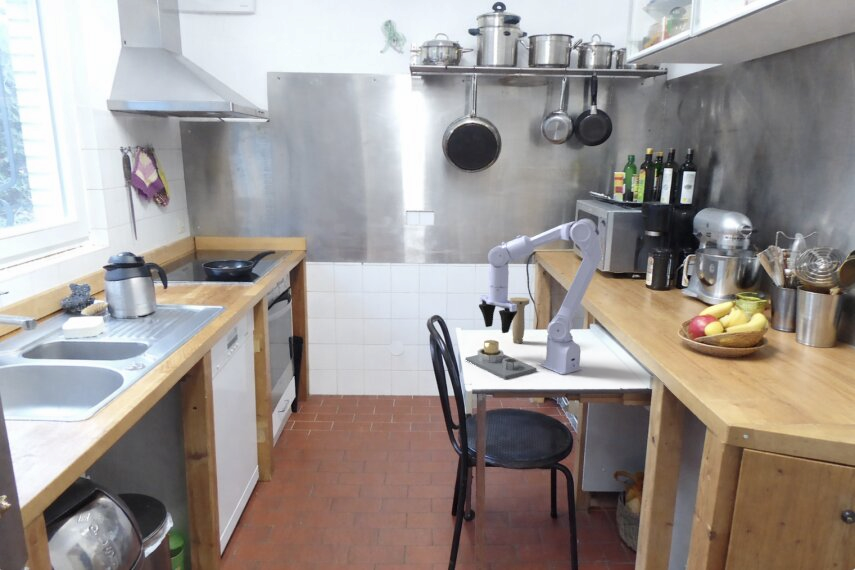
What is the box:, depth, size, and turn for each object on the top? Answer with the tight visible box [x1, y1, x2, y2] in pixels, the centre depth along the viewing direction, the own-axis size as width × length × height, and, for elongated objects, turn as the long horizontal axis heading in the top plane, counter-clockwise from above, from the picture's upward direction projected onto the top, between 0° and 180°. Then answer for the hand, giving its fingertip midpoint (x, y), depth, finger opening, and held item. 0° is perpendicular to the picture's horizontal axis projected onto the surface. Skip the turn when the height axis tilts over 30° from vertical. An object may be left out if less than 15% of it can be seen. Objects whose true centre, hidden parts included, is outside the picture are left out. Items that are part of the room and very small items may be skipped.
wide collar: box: [476, 347, 505, 363], centre depth 172 cm, size 8×8×2 cm
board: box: [465, 354, 537, 380], centre depth 168 cm, size 18×12×1 cm, turn 34°
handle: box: [509, 296, 531, 344], centre depth 189 cm, size 5×6×15 cm
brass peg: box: [483, 339, 500, 355], centre depth 172 cm, size 4×4×5 cm
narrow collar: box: [502, 357, 520, 370], centre depth 164 cm, size 5×5×2 cm
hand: (496, 329), depth 173 cm, fingers open, 7 cm apart
